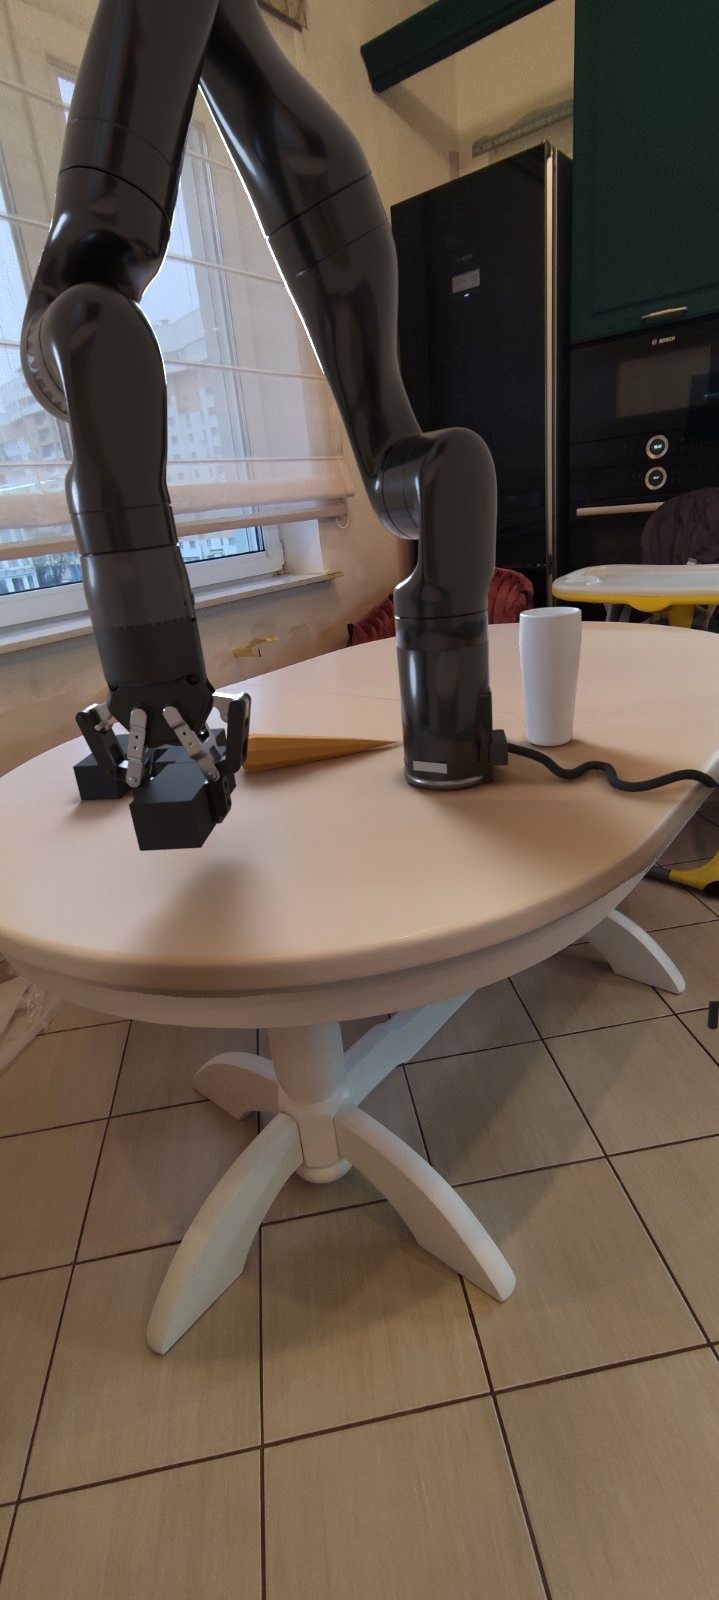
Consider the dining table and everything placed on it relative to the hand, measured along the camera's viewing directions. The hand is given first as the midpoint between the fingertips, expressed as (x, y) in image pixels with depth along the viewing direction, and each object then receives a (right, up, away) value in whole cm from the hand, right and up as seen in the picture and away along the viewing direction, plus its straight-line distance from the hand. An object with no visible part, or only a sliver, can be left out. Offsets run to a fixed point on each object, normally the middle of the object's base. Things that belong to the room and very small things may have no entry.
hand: (187, 820), depth 60 cm
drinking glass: (+37, +9, +26) cm, 46 cm away
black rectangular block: (0, 0, +2) cm, 2 cm away
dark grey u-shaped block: (-9, +4, +26) cm, 28 cm away
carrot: (+10, +7, +27) cm, 30 cm away
